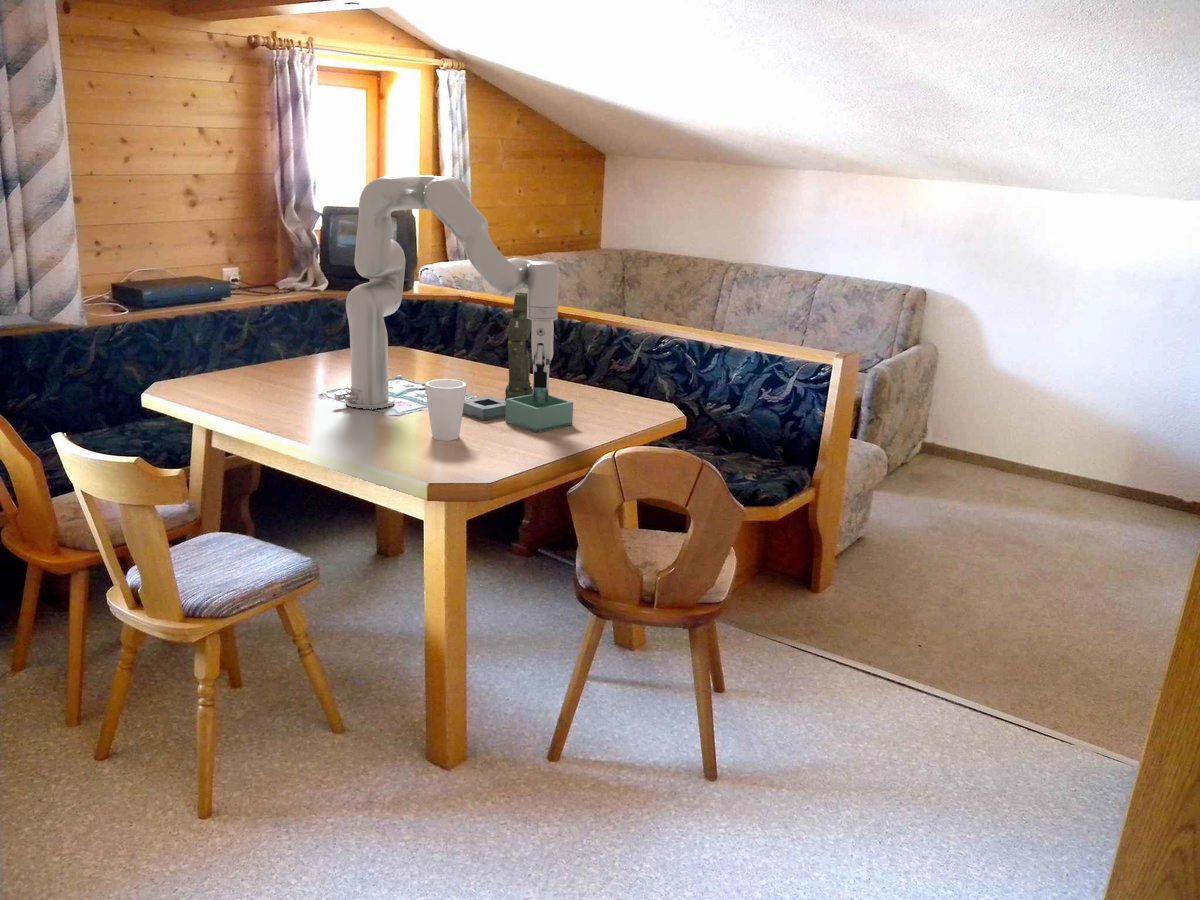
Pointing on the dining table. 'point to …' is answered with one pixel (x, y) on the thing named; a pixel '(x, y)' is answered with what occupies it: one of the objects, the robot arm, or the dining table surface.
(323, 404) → the dining table surface
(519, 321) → the mechanical leg
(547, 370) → the metal peg
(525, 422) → the bin
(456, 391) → the foam cup
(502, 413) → the socket block
